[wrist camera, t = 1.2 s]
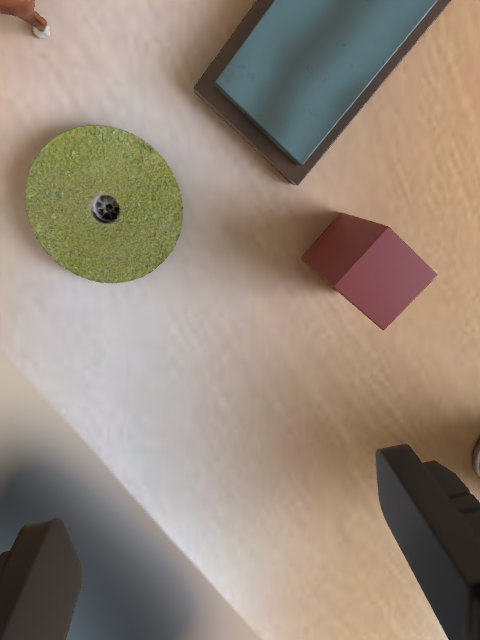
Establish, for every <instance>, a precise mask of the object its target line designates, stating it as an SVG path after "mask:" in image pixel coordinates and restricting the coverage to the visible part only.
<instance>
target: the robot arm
mask: <svg viewBox="0 0 480 640" xmlns="http://www.w3.org/2000/svg"><path fill="white" fill-rule="evenodd" d="M473 467H474V470H475V472H476V474H477V475H478V477H479V478H480V440H479V441H478V443H477V445H476V447H475V450H474V453H473ZM376 468H377V482H378V495H379V501H380V505H381V509H382V512H383V515H384V517H385V520H386V522H387V524H388V526H389V528H390V530H391V532H392V533H393V535H394V537H395V539H396V541H397V543H398V545H399V547H400V549H401V550H402V552H403V554H404V556H405V558H406V560H407V562H408V564H409V566H410V567H411V569H412V571H413V573H414V575H415V577H416V579H417V581H418V583H419V584H420V586H421V588H422V590H423V592H424V594H425V596H426V598H427V600H428V602H429V603H430V605H431V607H432V609H433V611H434V613H435V615H436V617H437V619H438V620H439V622H440V624H441V626H442V628H443V630H444V632H445V634H446V636H447V637H448V639H449V640H480V502H479V501H478V500H477V499H476V498H475V496H474V495H473V494H472V495H471V493H470V490H469V489H468V488H467V487H466V486H465V485H464V483H463V482H462V481H461V480H460V479H459V477H458V476H457V475H456V474H455V473H454V472H452V471H451V470H449V469H447V468H446V467H444V466H443V465H441V464H439V463H438V462H436V461H435V460H434V461H429V462H424V463H422V462H421V460H420V459H419V458H418V456H417V455H416V454H415V452H414V451H413V450H412V449H411V447H410V446H409V445H407V444H401V445H397V446H392V447H387V448H382V449H378V450H376ZM81 581H82V571H81V564H80V560H79V558H78V555H77V553H76V551H75V549H74V547H73V544H72V542H71V540H70V537H69V535H68V533H67V531H66V528H65V526H64V524H63V522H62V520H61V519H60V518H53V519H48V520H43V521H38V522H33V523H29V524H26V525H24V526H23V527H22V529H21V530H20V532H19V534H18V536H17V538H16V540H15V542H14V544H13V546H12V548H11V550H10V551H7V552H3V553H2V554H1V555H0V640H66V637H67V633H68V630H69V627H70V623H71V619H72V616H73V613H74V609H75V606H76V602H77V599H78V595H79V592H80V588H81Z"/></svg>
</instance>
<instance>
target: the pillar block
mask: <svg viewBox="0 0 480 640" xmlns="http://www.w3.org/2000/svg"><path fill="white" fill-rule="evenodd" d="M301 260H302V261H304V262H305V263H306V264H307V265H308V266H309V267H311V268H312V269H313V270H314V271H315V272H316V273H317V274H319V275H320V276H321V277H322V278H323V279H324V280H325V281H327V282H328V283H329V284H330V285H331V286H332V287H333V288H335V289H336V290H337V291H338V292H339V293H340V294H341V295H343V296H344V297H345V298H346V299H347V300H348V301H350V302H351V303H352V304H353V305H354V306H355V307H357V308H358V309H359V310H360V311H361V312H362V313H363V314H365V315H366V316H367V317H368V318H369V319H370V320H372V321H373V322H374V323H375V324H376V325H377V326H378V327H380V328H381V329H382V330H385V329H386V328H387V327H388V326H389V325H390V324H391V323H392V322H393V321H394V320H395V318H396V317H397V316H398V315H399V314H400V313H401V312H402V311H403V310H404V309H405V308H406V307H407V306H408V305H409V304H410V303H411V302H412V301H413V300H414V299H415V298H416V297H417V296H418V295H419V294H420V293H421V292H422V291H423V290H424V289H425V288H426V287H427V286H428V285H429V284H430V283H431V281H432V280H433V279H434V278H435V277H436V276H437V274H436V273H435V272H434V271H433V270H432V269H431V268H430V267H429V266H428V265H427V264H426V263H425V262H424V261H423V260H422V259H421V258H420V257H419V256H418V255H417V254H416V253H415V252H414V251H413V250H412V249H411V248H410V247H409V246H408V245H407V244H406V243H405V242H404V241H403V240H402V239H401V238H400V237H399V236H398V235H397V234H396V233H395V232H394V231H393V230H392V229H391V228H390V227H388V226H385V225H382V224H378V223H375V222H372V221H368V220H365V219H361V218H358V217H355V216H351V215H348V214H345V213H340V214H339V215H338V216H337V218H336V219H335V220H334V221H333V222H332V223H331V225H330V226H329V227H328V228H327V229H326V230H325V231H324V233H323V234H322V235H321V236H320V237H319V238H318V239H317V241H316V242H315V243H314V244H313V245H312V246H311V247H310V249H309V250H308V251H307V252H306V253H305V254H304V255H303V257H302V258H301Z"/></svg>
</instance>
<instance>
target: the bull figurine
mask: <svg viewBox="0 0 480 640" xmlns="http://www.w3.org/2000/svg"><path fill="white" fill-rule="evenodd" d="M34 7H35V0H0V13H1V14H9V15H13V16H17V17H19V18H21V19H23V20H25V21H27V22H29V23H30V24H31V25H32V32H33V34H34V35H35V36H36V37H38V38H44V36H45V35H46V36H49V35H50V28H49V27H48V26H47V22H46V20H45V19H44V18H43V17H41V16H40V15H39V14H38V13H37V12H36V11H34Z"/></svg>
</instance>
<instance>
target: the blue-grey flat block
mask: <svg viewBox="0 0 480 640" xmlns="http://www.w3.org/2000/svg"><path fill="white" fill-rule="evenodd" d="M450 2H451V0H257V1H256V2H255V4H254V5H253V6H252V8H251V9H250V11H249V12H248V13H247V15H246V16H245V17H244V19H243V20H242V22H241V23H240V24H239V26H238V27H237V29H236V30H235V31H234V33H233V34H232V36H231V37H230V38H229V40H228V41H227V42H226V44H225V45H224V47H223V48H222V49H221V51H220V52H219V54H218V55H217V56H216V58H215V59H214V61H213V62H212V63H211V65H210V66H209V67H208V69H207V70H206V72H205V73H204V74H203V76H202V77H201V79H200V80H199V81H198V83H197V84H196V85H195V87H194V92H195V93H196V94H197V95H198V96H199V97H200V98H201V99H202V100H203V101H204V102H205V103H206V104H207V105H208V106H210V107H211V108H212V109H213V110H214V111H215V112H216V113H217V114H218V115H219V116H220V117H221V118H222V119H223V120H225V121H226V122H227V123H228V124H229V125H230V126H231V127H232V128H233V129H234V130H235V131H236V132H237V133H238V134H240V135H241V136H242V137H243V138H244V139H245V140H246V141H247V142H248V143H249V144H250V145H251V146H252V147H253V148H255V149H256V150H257V151H258V152H259V153H260V154H261V155H262V156H263V157H264V158H265V159H266V160H267V161H268V162H270V163H271V164H272V165H273V166H274V167H275V168H276V169H277V170H278V171H279V172H280V173H281V174H282V175H283V176H285V177H286V178H287V179H288V180H289V181H290V182H291V183H292V184H293V185H299V184H300V182H301V181H302V180H303V179H304V178H305V176H306V175H307V174H308V173H309V171H310V170H311V169H312V168H313V167H314V165H315V164H316V163H317V162H318V161H319V159H320V158H321V157H322V156H323V155H324V153H325V152H326V151H327V150H328V149H329V147H330V146H331V145H332V144H333V143H334V141H335V140H336V139H337V138H338V137H339V135H340V134H341V133H342V132H343V131H344V129H345V128H346V127H347V126H348V124H349V123H350V122H351V121H352V120H353V118H354V117H355V116H356V115H357V114H358V112H359V111H360V110H361V109H362V108H363V106H364V105H365V104H366V103H367V102H368V100H369V99H370V98H371V97H372V96H373V94H374V93H375V92H376V91H377V90H378V88H379V87H380V86H381V85H382V84H383V82H384V81H385V80H386V79H387V77H388V76H389V75H390V74H391V73H392V71H393V70H394V69H395V68H396V67H397V65H398V64H399V63H400V62H401V61H402V59H403V58H404V57H405V56H406V55H407V53H408V52H409V51H410V50H411V49H412V47H413V46H414V45H415V44H416V43H417V41H418V40H419V39H420V38H421V37H422V35H423V34H424V33H425V32H426V31H427V29H428V28H429V27H430V26H431V24H432V23H433V22H434V21H435V20H436V18H437V17H438V16H439V15H440V14H441V12H442V11H443V10H444V9H445V8H446V6H447V5H448V4H449V3H450Z"/></svg>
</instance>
